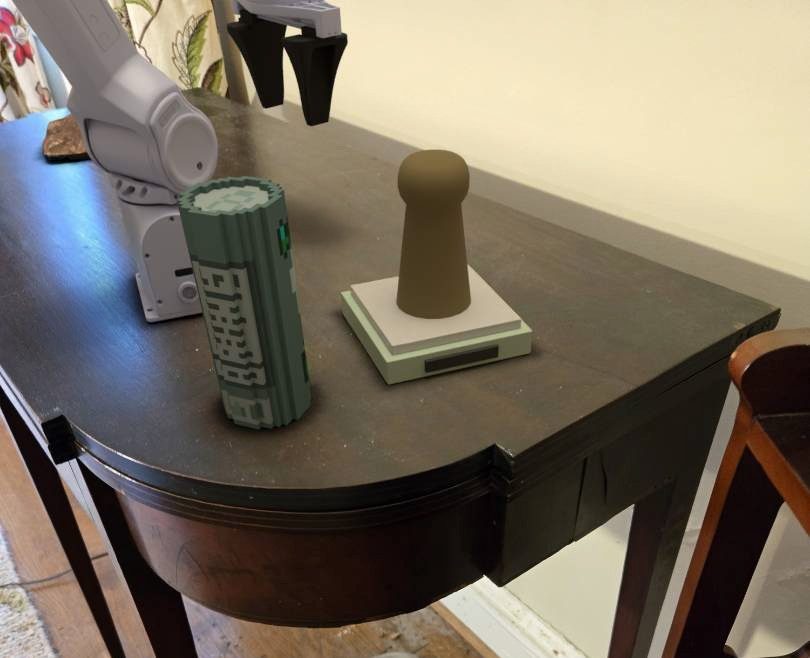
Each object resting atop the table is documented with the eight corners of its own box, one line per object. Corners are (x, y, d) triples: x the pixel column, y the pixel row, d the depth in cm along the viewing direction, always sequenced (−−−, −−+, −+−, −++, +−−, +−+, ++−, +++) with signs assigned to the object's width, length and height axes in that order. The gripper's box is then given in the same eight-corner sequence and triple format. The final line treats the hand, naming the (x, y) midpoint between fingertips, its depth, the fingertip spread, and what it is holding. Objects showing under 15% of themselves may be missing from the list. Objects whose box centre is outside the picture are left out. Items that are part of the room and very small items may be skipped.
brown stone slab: (38, 139, 103) (28, 109, 100) (134, 125, 106) (127, 96, 103) (46, 166, 95) (35, 134, 92) (149, 149, 98) (142, 118, 96)
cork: (465, 321, 59) (470, 171, 51) (388, 315, 60) (382, 167, 52) (476, 285, 63) (481, 141, 56) (404, 280, 64) (400, 138, 57)
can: (324, 390, 58) (299, 183, 47) (283, 436, 54) (247, 220, 43) (254, 374, 60) (216, 172, 49) (210, 417, 56) (158, 206, 45)
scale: (532, 355, 61) (535, 323, 59) (389, 387, 58) (387, 354, 56) (470, 288, 69) (471, 258, 67) (342, 313, 66) (339, 283, 64)
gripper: (366, -65, 61) (375, 121, 71) (267, -79, 69) (287, 90, 79) (292, -55, 58) (311, 139, 68) (198, -70, 66) (227, 105, 76)
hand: (294, 114), depth 73 cm, fingers open, 7 cm apart
